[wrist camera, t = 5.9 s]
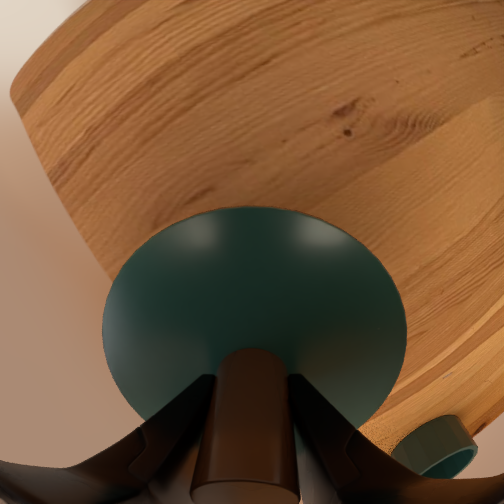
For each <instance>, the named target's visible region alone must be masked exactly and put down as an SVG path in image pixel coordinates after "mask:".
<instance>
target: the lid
mask: <svg viewBox="0 0 504 504" xmlns="http://www.w3.org/2000/svg"><path fill="white" fill-rule="evenodd" d="M102 337H103V346H104V352H105V356H106V360H107V364H108V367H109V369H110V372H111V374H112V376H113V379H114V381H115V383H116V385H117V386H118V388H119V390H120V391H121V393H122V395H123V396H124V397H125V399H126V400H127V402H128V403H129V404H130V405H131V407H132V408H133V409H134V410H135V411H136V412H137V413H138V414H139V415H140V416H141V417H142V418H143V419H144V420H145V421H146V420H148V419H149V418H150V417H151V416H153V415H154V414H155V413H156V412H158V411H159V410H160V409H161V408H163V407H164V406H165V405H166V404H167V403H169V402H170V401H171V400H172V399H173V398H175V397H176V396H177V395H178V394H179V393H181V392H182V391H183V390H184V389H185V388H187V387H188V386H189V385H190V384H191V383H192V382H194V381H195V380H196V379H197V378H198V377H199V376H201V375H202V374H214V375H215V377H216V378H215V382H214V386H213V391H212V395H211V399H210V404H209V408H208V412H207V416H206V421H205V425H204V429H203V433H202V438H201V442H200V446H199V451H198V455H197V459H196V464H195V468H194V473H193V477H192V481H191V486H190V490H189V495H190V498H191V500H192V501H193V502H194V503H195V504H299V502H300V500H301V494H300V483H299V473H298V462H297V452H296V442H295V433H294V423H293V414H292V407H291V399H290V390H289V381H288V376H289V374H295V373H301V374H302V375H303V376H304V377H305V378H306V379H307V380H308V381H309V382H310V383H311V384H312V385H313V386H314V387H315V388H316V389H317V390H318V391H319V392H320V393H321V394H322V395H323V396H324V397H325V398H326V399H327V400H328V401H329V402H330V403H331V404H332V405H333V406H334V407H335V408H336V409H337V410H338V411H339V412H340V413H341V414H342V415H343V416H344V417H345V418H346V419H347V420H348V421H349V422H350V423H351V424H352V425H353V426H354V427H355V428H356V429H358V428H359V427H360V426H362V425H363V424H364V423H365V422H366V421H367V420H368V419H369V418H370V417H371V416H372V415H373V414H374V413H375V412H376V411H377V410H378V409H379V407H380V406H381V405H382V404H383V402H384V401H385V400H386V398H387V397H388V395H389V394H390V392H391V390H392V388H393V387H394V385H395V383H396V381H397V379H398V376H399V374H400V371H401V368H402V365H403V362H404V357H405V351H406V346H407V324H406V317H405V310H404V307H403V303H402V300H401V297H400V294H399V292H398V289H397V287H396V285H395V283H394V281H393V279H392V277H391V276H390V274H389V273H388V272H387V270H386V269H385V267H384V266H383V265H382V263H381V262H380V261H379V259H378V258H377V257H376V256H375V255H374V254H373V253H372V252H371V251H370V250H369V249H368V248H367V247H366V246H365V245H363V244H362V243H361V242H359V241H358V240H357V239H355V238H354V237H352V236H351V235H350V234H348V233H347V232H345V231H344V230H342V229H340V228H338V227H336V226H334V225H333V224H331V223H329V222H327V221H325V220H323V219H320V218H318V217H315V216H312V215H309V214H306V213H303V212H300V211H297V210H291V209H286V208H280V207H274V206H258V205H243V206H233V207H224V208H218V209H214V210H210V211H206V212H202V213H199V214H196V215H193V216H191V217H188V218H186V219H184V220H181V221H179V222H176V223H174V224H172V225H170V226H169V227H167V228H165V229H164V230H162V231H161V232H159V233H157V234H156V235H154V236H152V237H151V238H150V239H149V240H148V241H146V242H145V243H144V244H143V245H142V246H141V247H139V248H138V249H137V250H136V251H135V252H134V253H133V255H132V256H131V257H130V258H129V259H128V260H127V262H126V263H125V264H124V265H123V267H122V268H121V270H120V272H119V273H118V275H117V277H116V278H115V280H114V282H113V284H112V287H111V289H110V292H109V294H108V297H107V300H106V304H105V309H104V314H103V325H102Z"/></svg>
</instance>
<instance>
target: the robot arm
mask: <svg viewBox="0 0 504 504" xmlns="http://www.w3.org/2000/svg"><path fill="white" fill-rule="evenodd" d="M215 378H216V377H215V375H214V374H202V375H201V376H199V377H198V378H197V379H196V380H195V381H194V382H192V383H191V384H190V385H189V386H188V387H187V388H185V389H184V390H183V391H182V392H181V393H179V394H178V395H177V396H176V397H175V398H173V399H172V400H171V401H170V402H169V403H167V404H166V405H165V406H164V407H163V408H161V409H160V410H159V411H158V412H156V413H155V414H154V415H153V416H151V417H150V418H149V419H148V420H146V421H145V422H144V423H143V424H141V425H140V427H137V428H136V429H135V430H134V431H132V432H131V433H130V434H128V435H127V436H125V437H124V438H123V439H121V440H120V441H118V442H117V443H115V444H113V445H112V446H110V447H108V448H107V449H105V450H103V451H101V452H100V453H98V454H96V455H94V456H93V457H91V458H89V459H87V460H85V461H83V462H81V463H79V464H77V465H75V466H72V467H67V468H49V467H38V466H29V465H21V464H15V463H9V462H5V461H1V460H0V504H195V503H194V502H193V501H192V500H191V498H190V495H189V490H190V486H191V481H192V477H193V473H194V468H195V464H196V459H197V455H198V451H199V446H200V442H201V438H202V433H203V429H204V425H205V421H206V416H207V412H208V408H209V404H210V399H211V395H212V391H213V386H214V382H215ZM288 381H289V390H290V399H291V407H292V414H293V423H294V433H295V442H296V452H297V462H298V473H299V483H300V490H301V495H302V500H303V504H504V473H503V474H500V475H497V476H493V477H488V478H473V479H433V478H427V477H424V476H421V475H419V474H417V473H415V472H414V471H412V470H410V469H409V468H407V467H406V466H404V465H403V464H401V463H400V462H398V461H397V460H395V459H394V458H392V457H391V456H389V455H388V454H386V453H385V452H384V451H382V450H381V449H380V448H378V447H377V446H376V445H374V444H373V443H372V442H371V441H370V440H368V439H367V438H366V437H365V436H364V435H363V434H362V433H361V432H360V431H359V430H357V429H356V428H355V427H354V426H353V425H352V424H351V423H350V422H349V421H348V420H347V419H346V418H345V417H344V416H343V415H342V414H341V413H340V412H339V411H338V410H337V409H336V408H335V407H334V406H333V405H332V404H331V403H330V402H329V401H328V400H327V399H326V398H325V397H324V396H323V395H322V394H321V393H320V392H319V391H318V390H317V389H316V388H315V387H314V386H313V385H312V384H311V383H310V382H309V381H308V380H307V379H306V378H305V377H304V376H303V375H302V374H301V373H295V374H289V376H288Z"/></svg>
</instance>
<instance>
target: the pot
mask: <svg viewBox="0 0 504 504" xmlns="http://www.w3.org/2000/svg"><path fill="white" fill-rule="evenodd" d="M477 451H478V446H477V445H476V443H475V442H474V440H473V439H472V437H471V435H470V434H469V432H468V431H467V429H466V428H465V426H464V425H463V423H462V422H461V420H460V419H458V417H456V416H454V415H446V416H442V417H439V418H436V419H434V420H432V421H430V422H428V423H426V424H424V425H422V426H421V427H419V428H417V429H416V430H415V431H413V432H412V433H410V434H409V435H408V436H407V437H405V438H404V439H403V440H402V441H401V442H400V443H399V444H398V445H397V446H396V448H395V449H394V451H393V452H392V454H391V457H392V458H394V459H395V460H397V461H398V462H400V463H401V464H403V465H404V466H406V467H407V468H409V469H410V470H412V471H414V472H415V473H417V474H419V475H421V476H424V477H427V478H433V479H453V478H454V477H455V476H457V475H458V474H459V473H460V472H462V471H463V470H464V469H465V468H466V467H467V466H468V465H469V464H470V463H471V461H472V460H473V459H474V457H475V456H476V454H477Z"/></svg>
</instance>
